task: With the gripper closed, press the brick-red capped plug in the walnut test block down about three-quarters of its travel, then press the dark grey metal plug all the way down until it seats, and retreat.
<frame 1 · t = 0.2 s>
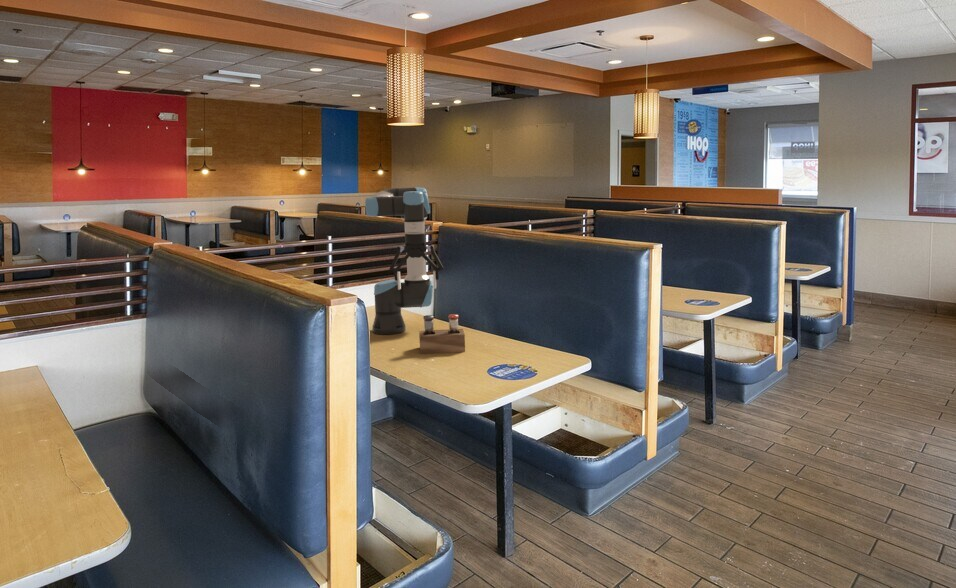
hand: (417, 288, 249), 28 cm above the table, fingers open, 13 cm apart
plug red: (453, 324, 264), point 10 cm above the table, slide at 0.0 cm
plug grey: (428, 325, 263), point 10 cm above the table, slide at 0.0 cm
test block: (442, 349, 266), on the table
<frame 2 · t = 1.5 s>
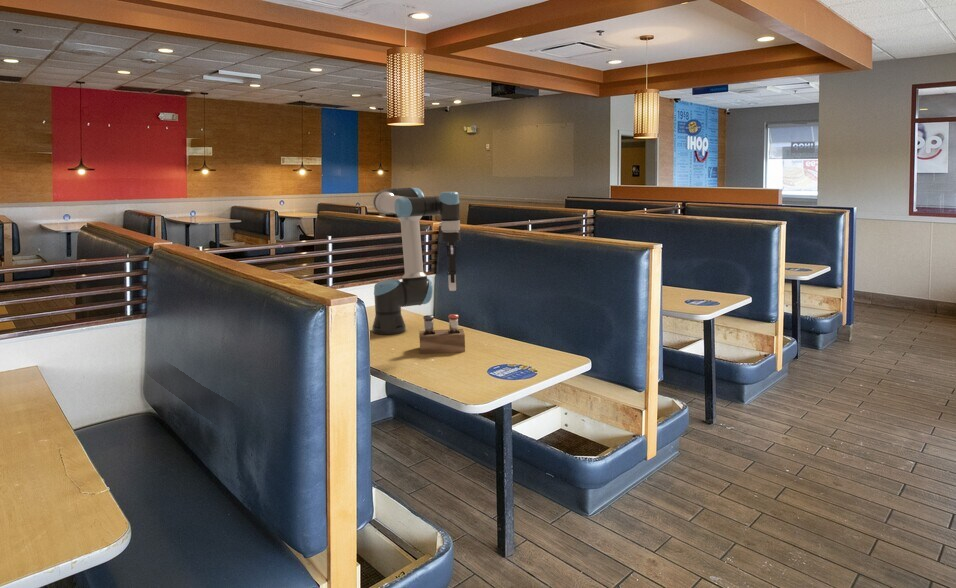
hand: (452, 289, 262), 25 cm above the table, fingers open, 4 cm apart
nothing on the table moved.
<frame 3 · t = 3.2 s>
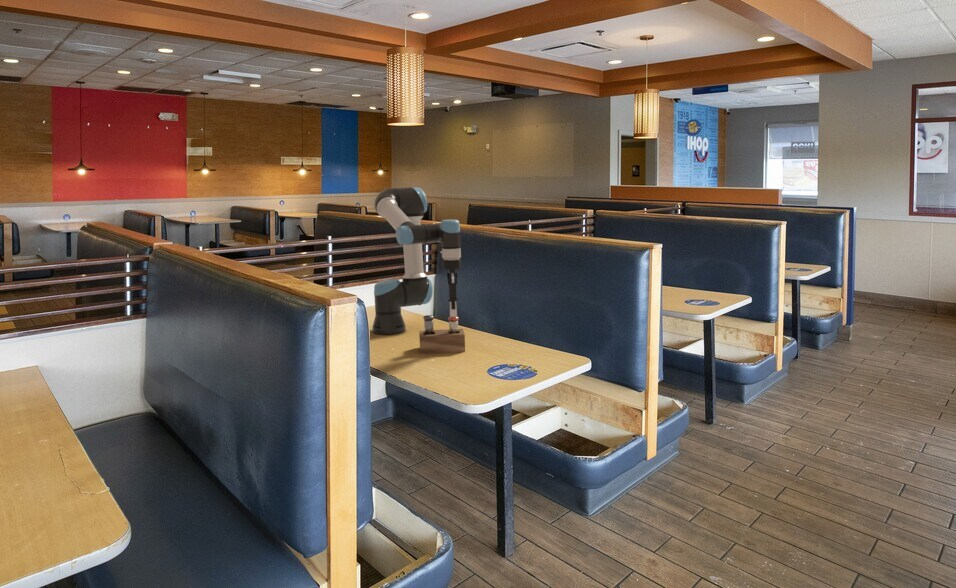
hand: (453, 316, 264), 13 cm above the table, fingers closed
plug red: (453, 326, 264), point 9 cm above the table, slide at 0.8 cm, touching gripper
everything else where it was.
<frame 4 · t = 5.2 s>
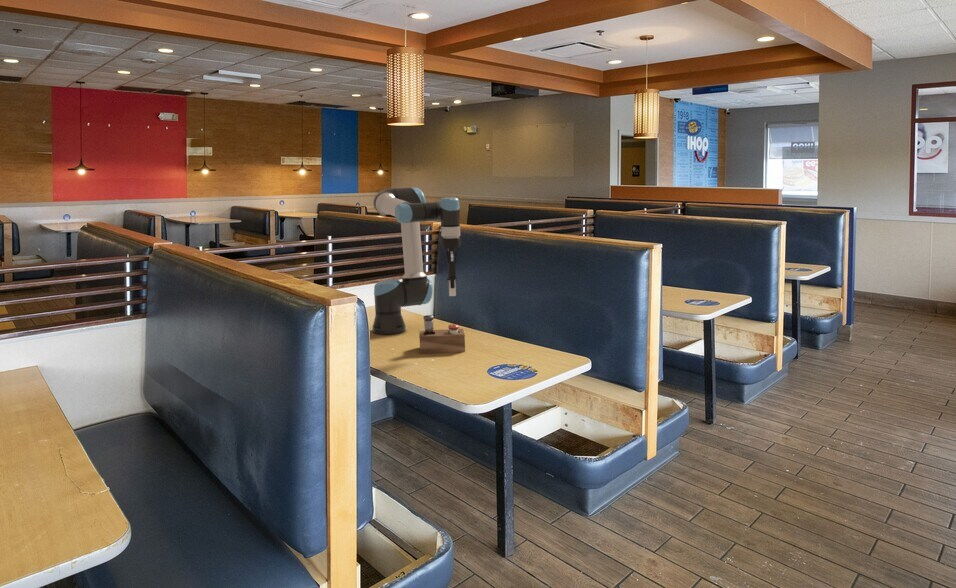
hand: (452, 295, 262), 22 cm above the table, fingers closed
plug red: (454, 334, 265), point 6 cm above the table, slide at 4.3 cm
everything else where it was.
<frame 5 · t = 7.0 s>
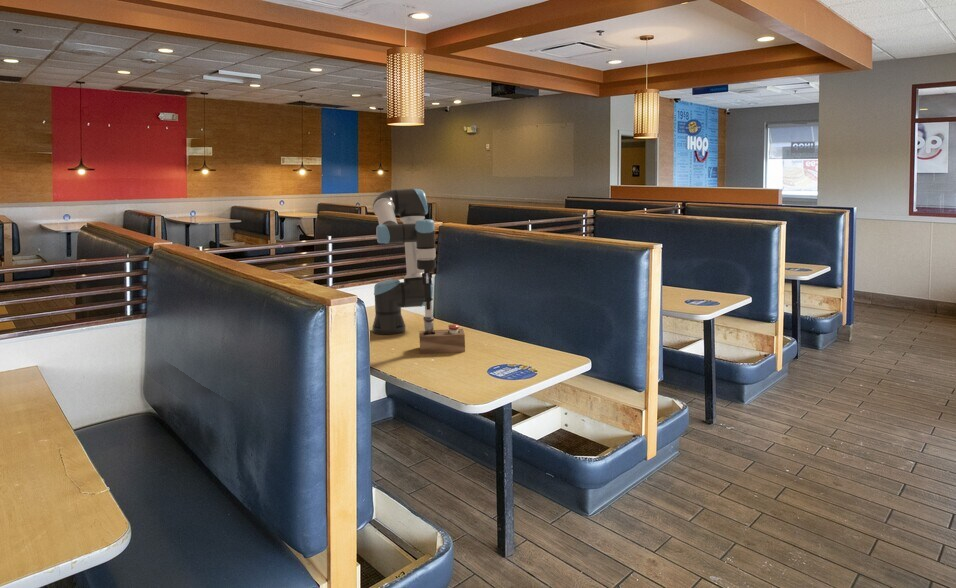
hand: (428, 316, 263), 14 cm above the table, fingers closed
plug grey: (429, 326, 263), point 10 cm above the table, slide at 0.5 cm, touching gripper
everything else where it was.
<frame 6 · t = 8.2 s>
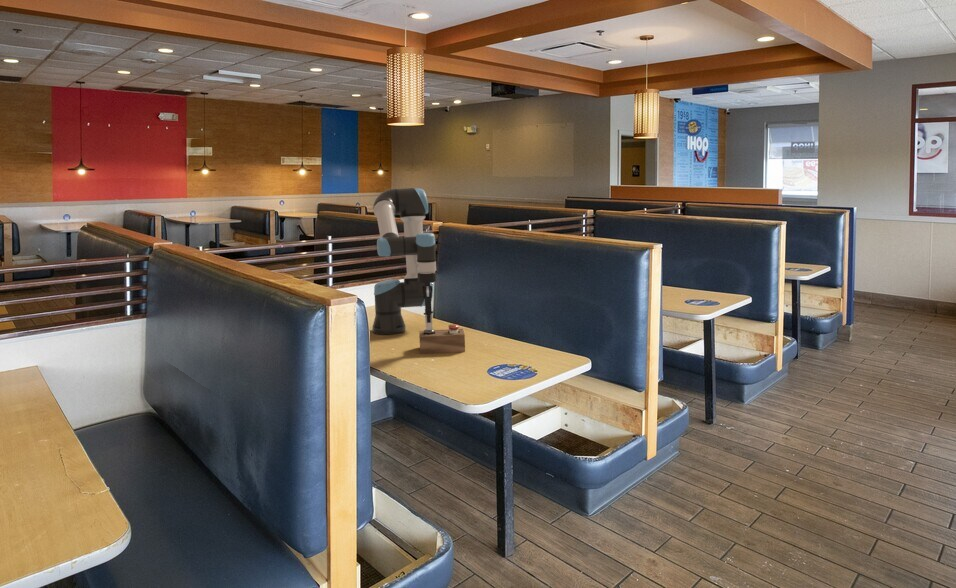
hand: (429, 329, 264), 8 cm above the table, fingers closed
plug grey: (429, 339, 264), point 4 cm above the table, slide at 5.8 cm, touching gripper
everything else where it was.
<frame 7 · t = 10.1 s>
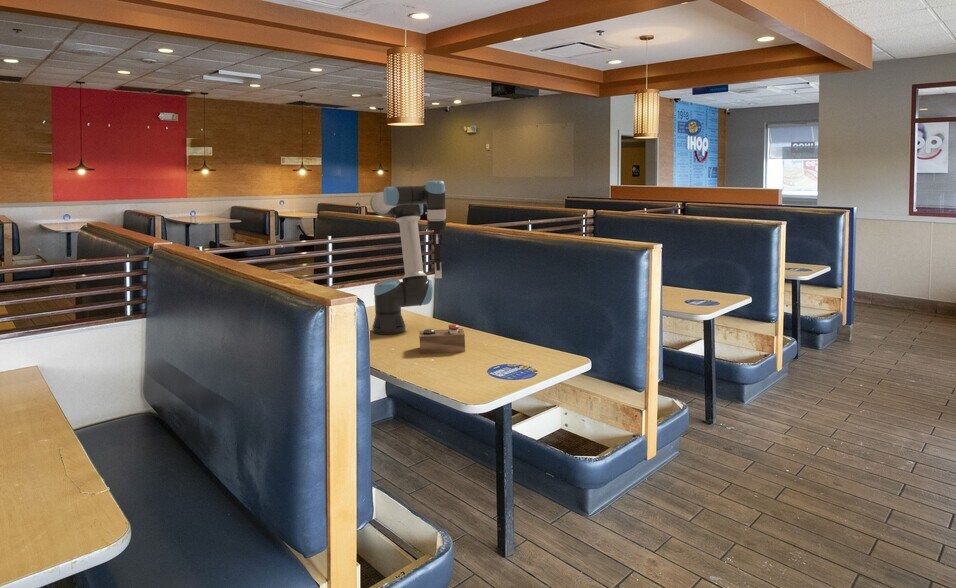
hand: (438, 278, 265), 29 cm above the table, fingers closed
plug grey: (429, 339, 264), point 4 cm above the table, slide at 5.8 cm
everything else where it was.
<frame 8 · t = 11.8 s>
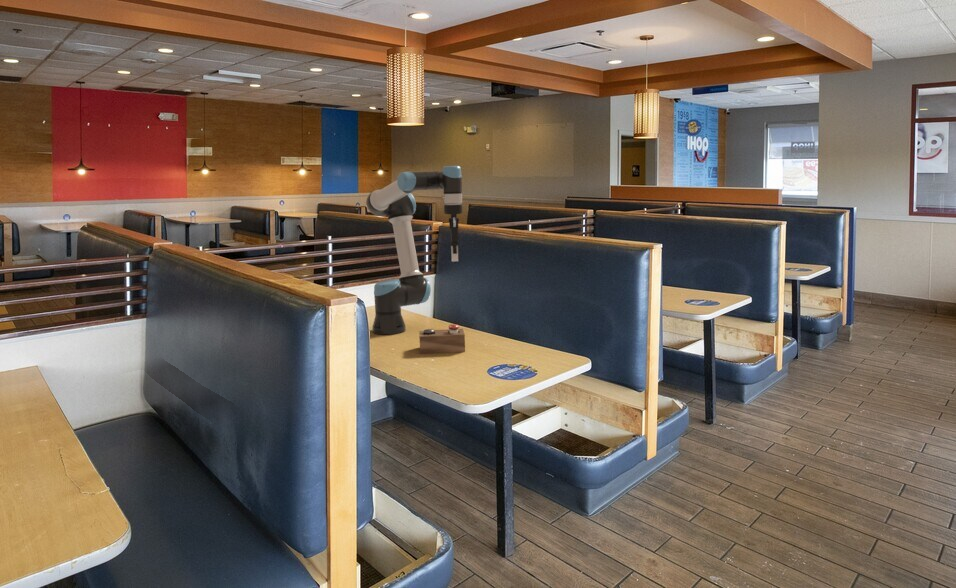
hand: (454, 261, 272), 34 cm above the table, fingers closed
nothing on the table moved.
at the end: plug grey slide at 5.8 cm; plug red slide at 4.3 cm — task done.
